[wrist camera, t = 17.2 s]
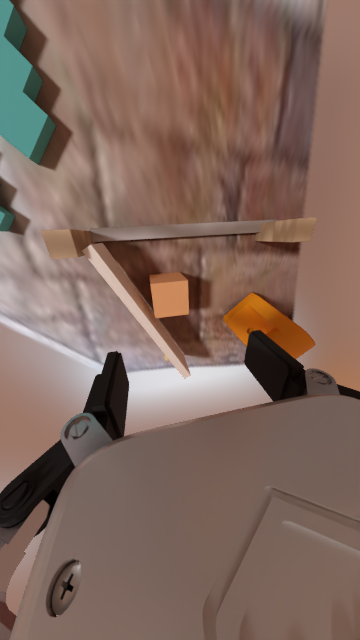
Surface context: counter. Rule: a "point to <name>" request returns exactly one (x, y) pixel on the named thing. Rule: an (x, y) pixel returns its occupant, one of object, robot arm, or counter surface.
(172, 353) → the gate door
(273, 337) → the bracket
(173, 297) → the block
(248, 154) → the counter surface
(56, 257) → the gate frame
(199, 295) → the counter surface
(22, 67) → the alien figure
